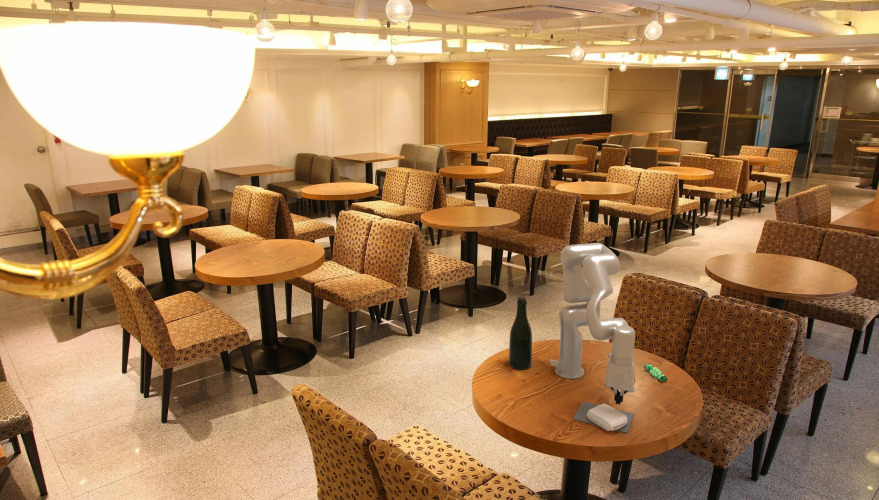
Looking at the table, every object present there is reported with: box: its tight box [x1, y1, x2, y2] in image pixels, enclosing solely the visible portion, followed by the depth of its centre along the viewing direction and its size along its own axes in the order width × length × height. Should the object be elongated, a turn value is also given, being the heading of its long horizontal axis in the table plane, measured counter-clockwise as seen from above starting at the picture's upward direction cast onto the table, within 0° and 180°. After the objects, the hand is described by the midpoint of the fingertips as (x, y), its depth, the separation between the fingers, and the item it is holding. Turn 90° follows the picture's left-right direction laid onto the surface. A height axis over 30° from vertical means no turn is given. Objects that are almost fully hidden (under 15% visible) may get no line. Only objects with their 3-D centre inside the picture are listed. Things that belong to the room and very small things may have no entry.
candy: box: [643, 363, 668, 384], centre depth 256 cm, size 12×3×4 cm
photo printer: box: [587, 403, 628, 432], centre depth 220 cm, size 10×4×12 cm
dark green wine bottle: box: [508, 295, 533, 370], centre depth 263 cm, size 10×10×33 cm
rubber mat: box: [572, 401, 635, 434], centre depth 225 cm, size 20×14×1 cm
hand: (618, 402), depth 221 cm, fingers closed
